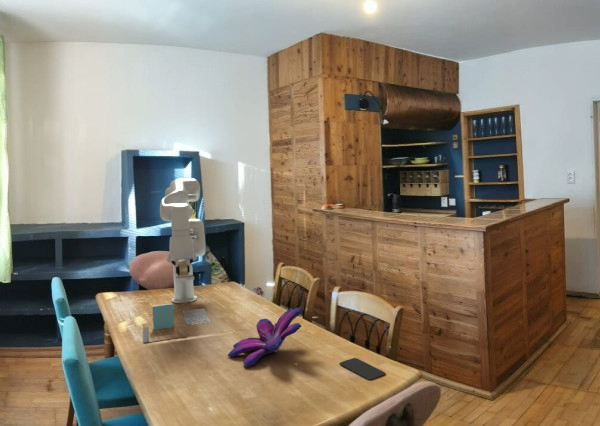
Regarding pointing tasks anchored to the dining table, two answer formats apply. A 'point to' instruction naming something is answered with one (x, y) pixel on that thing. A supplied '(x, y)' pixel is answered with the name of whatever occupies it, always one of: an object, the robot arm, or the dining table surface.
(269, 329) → the decorative flower
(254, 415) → the dining table surface
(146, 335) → the mat
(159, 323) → the tile
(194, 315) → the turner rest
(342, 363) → the phone
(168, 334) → the dining table surface
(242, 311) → the dining table surface
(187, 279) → the tan bar with plate
